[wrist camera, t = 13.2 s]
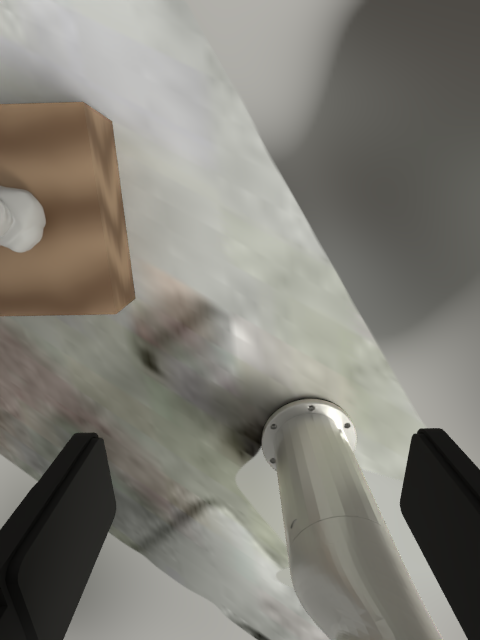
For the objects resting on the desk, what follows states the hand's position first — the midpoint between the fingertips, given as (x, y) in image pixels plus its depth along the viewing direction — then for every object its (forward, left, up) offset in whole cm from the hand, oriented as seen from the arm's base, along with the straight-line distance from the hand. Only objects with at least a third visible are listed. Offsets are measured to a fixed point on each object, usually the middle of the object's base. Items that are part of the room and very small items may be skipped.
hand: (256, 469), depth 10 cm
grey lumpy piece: (+7, +20, -22) cm, 31 cm away
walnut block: (+7, +20, -28) cm, 35 cm away
